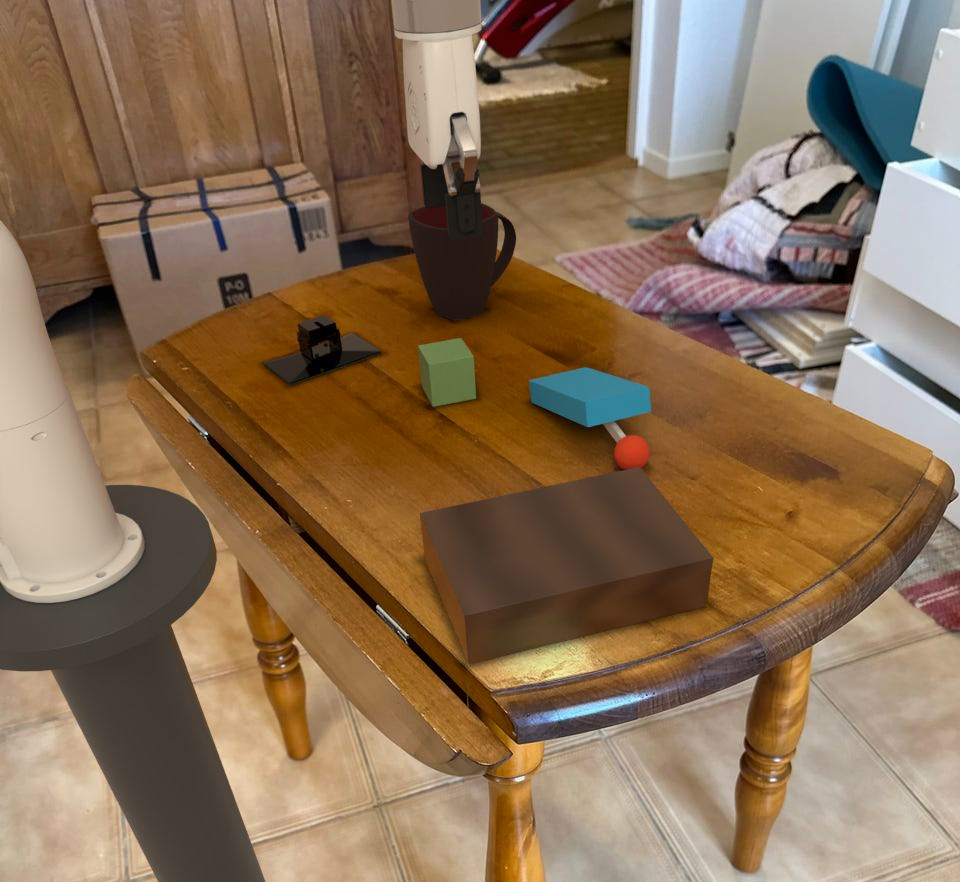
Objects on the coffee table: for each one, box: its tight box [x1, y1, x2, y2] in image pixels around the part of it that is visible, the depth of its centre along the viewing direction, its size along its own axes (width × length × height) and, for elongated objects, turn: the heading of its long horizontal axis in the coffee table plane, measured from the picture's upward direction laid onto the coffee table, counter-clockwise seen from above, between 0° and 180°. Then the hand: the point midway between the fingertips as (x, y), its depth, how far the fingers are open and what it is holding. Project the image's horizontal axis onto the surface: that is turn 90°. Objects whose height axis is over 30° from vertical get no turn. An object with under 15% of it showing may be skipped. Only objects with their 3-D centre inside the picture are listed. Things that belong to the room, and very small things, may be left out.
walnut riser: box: [419, 467, 714, 665], centre depth 76 cm, size 20×14×5 cm
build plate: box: [263, 314, 382, 386], centre depth 110 cm, size 12×7×5 cm, turn 126°
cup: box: [407, 202, 517, 321], centre depth 117 cm, size 10×14×12 cm
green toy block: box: [417, 337, 477, 408], centre depth 102 cm, size 5×5×5 cm
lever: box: [528, 366, 652, 470], centre depth 95 cm, size 7×7×18 cm
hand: (452, 221), depth 90 cm, fingers open, 9 cm apart
